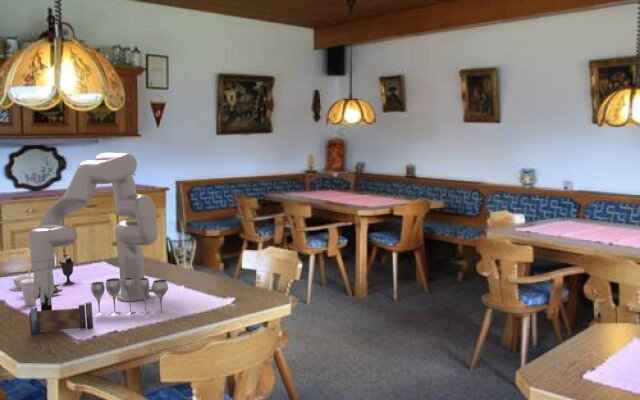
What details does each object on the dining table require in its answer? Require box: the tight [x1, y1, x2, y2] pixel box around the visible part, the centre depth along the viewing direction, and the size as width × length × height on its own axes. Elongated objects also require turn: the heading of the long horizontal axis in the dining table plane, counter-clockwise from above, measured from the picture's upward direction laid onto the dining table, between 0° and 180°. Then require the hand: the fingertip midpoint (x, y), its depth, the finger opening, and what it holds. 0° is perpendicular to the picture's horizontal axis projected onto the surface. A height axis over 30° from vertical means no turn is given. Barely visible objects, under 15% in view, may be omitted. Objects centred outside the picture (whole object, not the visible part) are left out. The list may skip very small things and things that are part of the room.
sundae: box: [58, 249, 75, 286], centre depth 281 cm, size 7×7×15 cm
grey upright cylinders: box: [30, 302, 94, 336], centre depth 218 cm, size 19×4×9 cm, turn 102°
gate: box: [28, 304, 87, 333], centre depth 219 cm, size 18×2×8 cm, turn 102°
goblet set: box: [90, 277, 169, 317], centre depth 237 cm, size 28×6×13 cm, turn 93°
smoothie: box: [20, 269, 37, 307], centre depth 250 cm, size 6×6×14 cm
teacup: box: [10, 275, 34, 292], centre depth 276 cm, size 10×10×5 cm
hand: (47, 316), depth 221 cm, fingers closed
